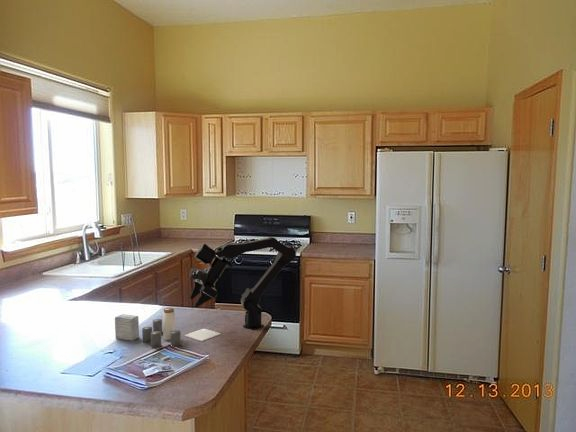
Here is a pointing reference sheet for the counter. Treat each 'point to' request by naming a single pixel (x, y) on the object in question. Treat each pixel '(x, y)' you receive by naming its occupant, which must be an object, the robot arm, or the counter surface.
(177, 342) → the spacer
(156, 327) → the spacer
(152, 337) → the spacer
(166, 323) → the jar
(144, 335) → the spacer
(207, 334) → the mat
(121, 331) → the medicine box
